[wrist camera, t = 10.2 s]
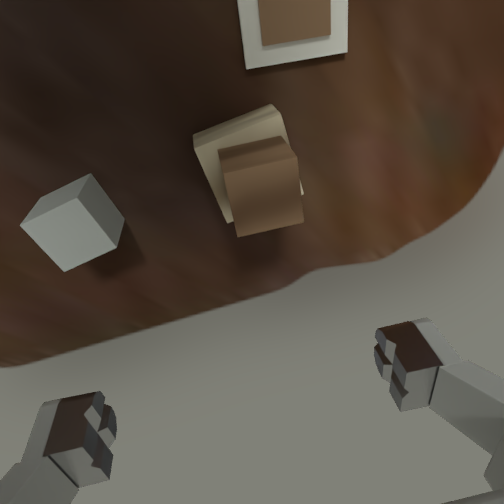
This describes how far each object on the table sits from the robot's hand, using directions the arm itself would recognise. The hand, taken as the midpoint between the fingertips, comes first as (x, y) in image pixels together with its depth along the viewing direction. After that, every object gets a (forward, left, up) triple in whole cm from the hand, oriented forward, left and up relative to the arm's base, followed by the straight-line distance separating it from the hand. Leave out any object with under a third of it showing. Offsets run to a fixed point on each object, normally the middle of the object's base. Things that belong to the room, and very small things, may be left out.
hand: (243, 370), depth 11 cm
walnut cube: (+3, +3, -21) cm, 21 cm away
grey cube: (+5, -12, -25) cm, 28 cm away
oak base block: (+3, +3, -25) cm, 25 cm away
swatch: (-8, +8, -25) cm, 27 cm away
